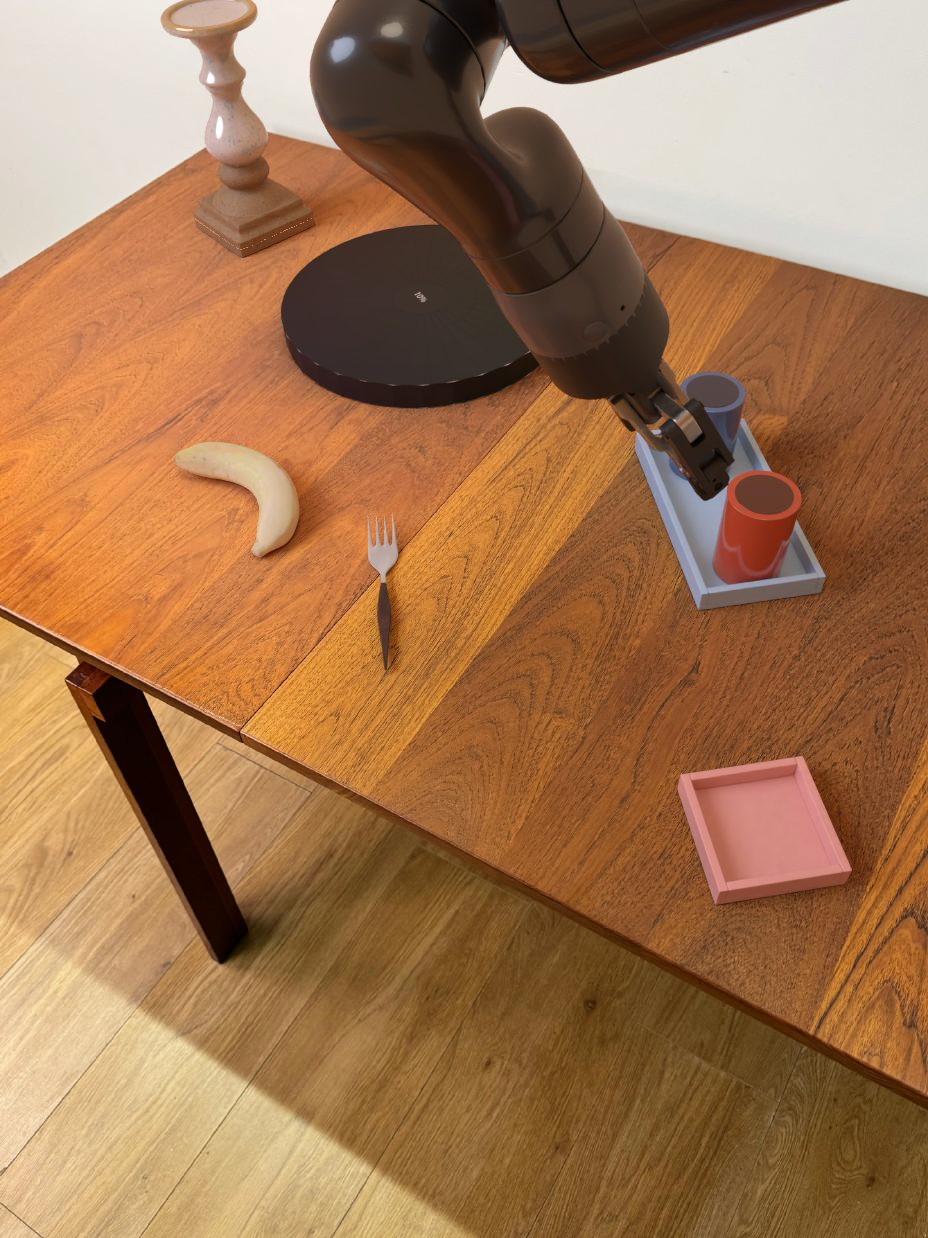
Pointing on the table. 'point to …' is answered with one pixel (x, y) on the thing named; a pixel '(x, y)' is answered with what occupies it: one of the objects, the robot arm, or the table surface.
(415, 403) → the disc
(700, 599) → the blue tray
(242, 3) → the candle holder
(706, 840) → the pink tray
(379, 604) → the fork
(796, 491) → the red spoon pot
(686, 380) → the blue pot
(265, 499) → the fruit
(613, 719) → the table surface
